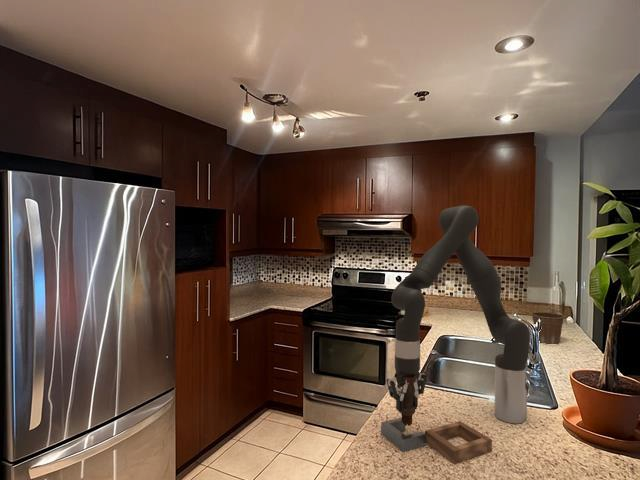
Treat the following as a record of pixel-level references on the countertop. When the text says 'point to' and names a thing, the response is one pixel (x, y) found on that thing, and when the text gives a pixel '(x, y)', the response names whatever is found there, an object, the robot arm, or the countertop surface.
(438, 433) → the square frame block
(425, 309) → the pastel sphere sculpture
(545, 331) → the plant pot
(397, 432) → the block
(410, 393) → the bolt
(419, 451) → the countertop surface
